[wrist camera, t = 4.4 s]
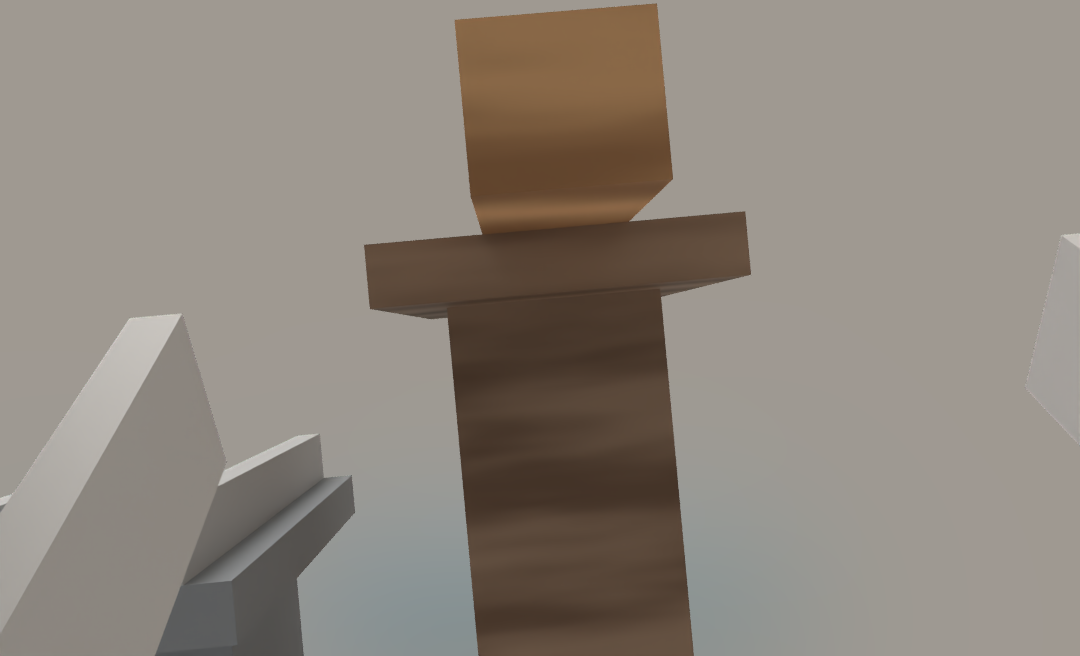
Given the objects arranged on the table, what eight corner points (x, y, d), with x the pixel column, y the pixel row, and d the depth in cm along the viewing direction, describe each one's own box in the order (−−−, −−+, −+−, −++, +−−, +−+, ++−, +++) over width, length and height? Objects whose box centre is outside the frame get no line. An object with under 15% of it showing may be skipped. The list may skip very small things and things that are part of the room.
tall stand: (832, 1161, 29) (745, 211, 29) (451, 1206, 28) (364, 244, 29) (698, 812, 50) (647, 262, 50) (477, 836, 49) (427, 282, 50)
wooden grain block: (673, 178, 21) (656, 3, 21) (470, 196, 21) (454, 19, 21) (596, 252, 40) (588, 160, 40) (491, 261, 40) (482, 169, 40)
